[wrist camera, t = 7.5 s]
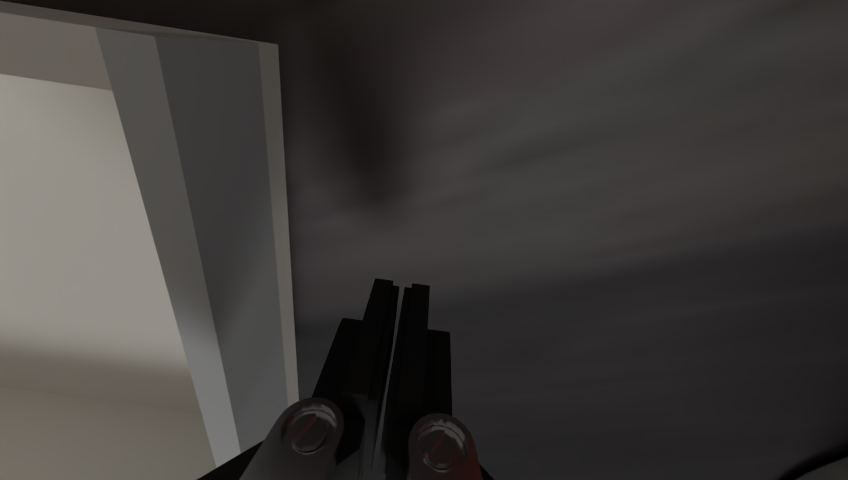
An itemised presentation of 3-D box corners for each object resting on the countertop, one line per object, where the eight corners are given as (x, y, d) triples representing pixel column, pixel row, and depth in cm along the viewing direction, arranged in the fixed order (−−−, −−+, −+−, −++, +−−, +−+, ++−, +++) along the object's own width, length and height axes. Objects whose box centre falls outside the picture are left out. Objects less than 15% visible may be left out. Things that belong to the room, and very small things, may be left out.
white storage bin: (309, 46, 10) (154, 36, 5) (315, 371, 17) (255, 523, 11) (-184, -32, 10) (-978, -140, 4) (24, 333, 16) (-183, 471, 11)
